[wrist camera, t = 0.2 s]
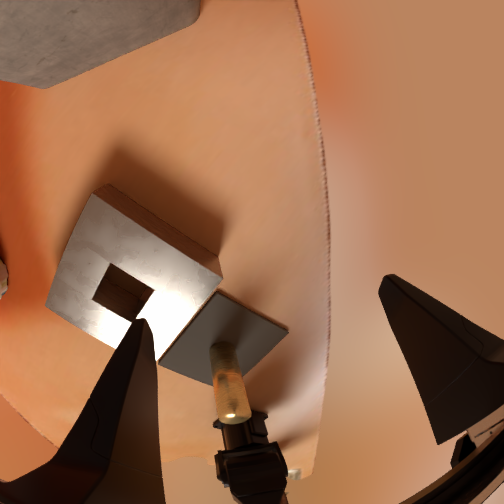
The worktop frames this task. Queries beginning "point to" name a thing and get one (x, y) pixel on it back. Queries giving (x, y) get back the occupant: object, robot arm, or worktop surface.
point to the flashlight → (3, 279)
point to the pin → (228, 384)
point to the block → (130, 272)
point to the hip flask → (80, 34)
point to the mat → (222, 339)
